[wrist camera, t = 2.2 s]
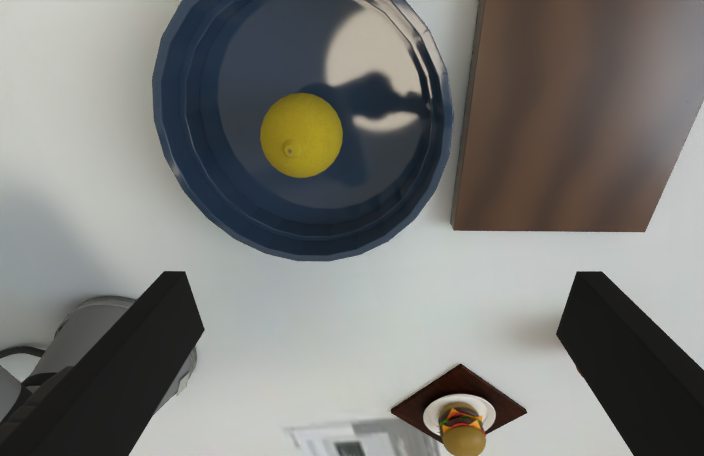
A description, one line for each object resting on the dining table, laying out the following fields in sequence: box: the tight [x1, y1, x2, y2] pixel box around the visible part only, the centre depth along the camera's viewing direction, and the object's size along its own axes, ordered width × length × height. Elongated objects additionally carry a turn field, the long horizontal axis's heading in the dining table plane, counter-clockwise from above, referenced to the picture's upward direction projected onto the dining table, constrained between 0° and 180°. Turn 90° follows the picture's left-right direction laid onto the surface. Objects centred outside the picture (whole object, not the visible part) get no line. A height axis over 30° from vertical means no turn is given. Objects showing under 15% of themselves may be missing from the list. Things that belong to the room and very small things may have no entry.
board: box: [450, 0, 704, 232], centre depth 25 cm, size 16×18×2 cm
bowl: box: [152, 0, 454, 261], centre depth 25 cm, size 20×20×5 cm
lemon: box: [260, 93, 343, 178], centre depth 23 cm, size 6×6×8 cm
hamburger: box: [391, 364, 527, 456], centre depth 41 cm, size 12×12×6 cm
